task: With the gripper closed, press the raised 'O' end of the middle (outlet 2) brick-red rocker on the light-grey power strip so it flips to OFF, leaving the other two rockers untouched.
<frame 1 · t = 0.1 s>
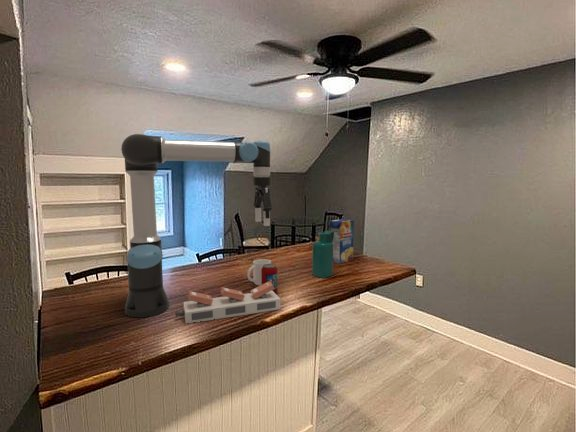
hand: (262, 223, 148), 28 cm above the countertop, fingers open, 13 cm apart
rocker 1: (200, 297, 115), point 7 cm above the countertop, hinge at 20.0°
rocker 2: (232, 293, 119), point 7 cm above the countertop, hinge at 20.0°
green bottle: (323, 275, 163), on the countertop
beverage can: (269, 293, 139), on the countertop
mug: (258, 284, 150), on the countertop
juice carton: (341, 261, 191), on the countertop
power strip: (232, 310, 120), on the countertop
rocker 3: (262, 289, 123), point 7 cm above the countertop, hinge at -20.0°
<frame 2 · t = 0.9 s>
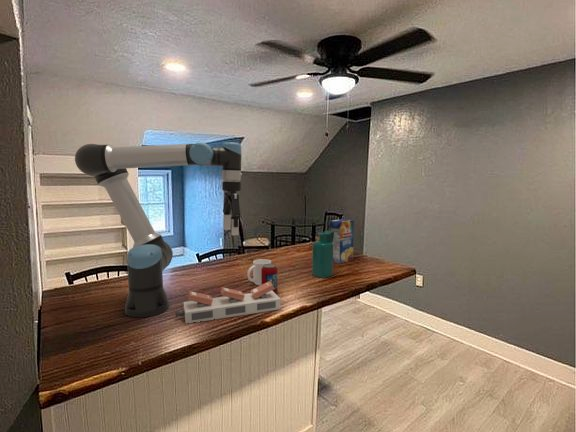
hand: (230, 232, 135), 26 cm above the countertop, fingers open, 13 cm apart
nothing on the countertop moved.
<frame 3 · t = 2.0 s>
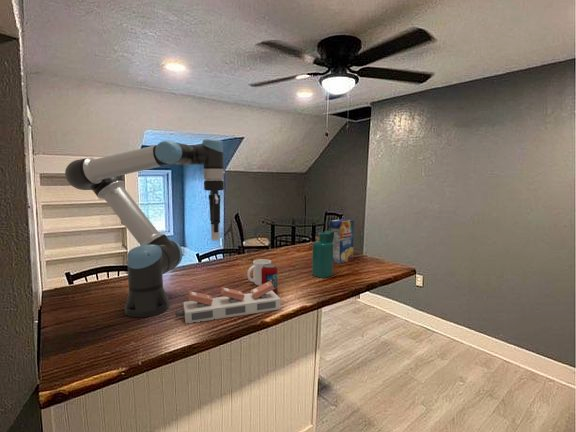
hand: (215, 239, 129), 24 cm above the countertop, fingers closed
nothing on the countertop moved.
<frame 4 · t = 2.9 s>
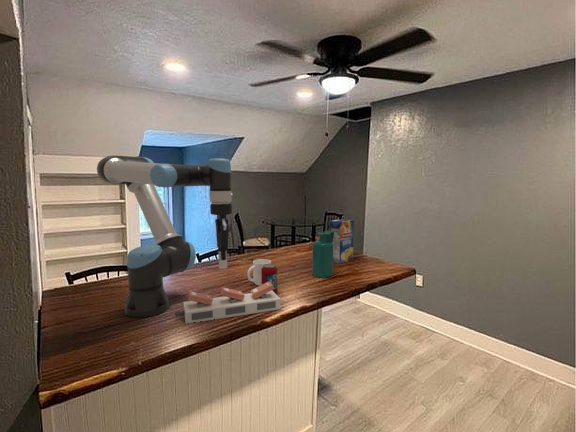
hand: (223, 268, 117), 17 cm above the countertop, fingers closed
nothing on the countertop moved.
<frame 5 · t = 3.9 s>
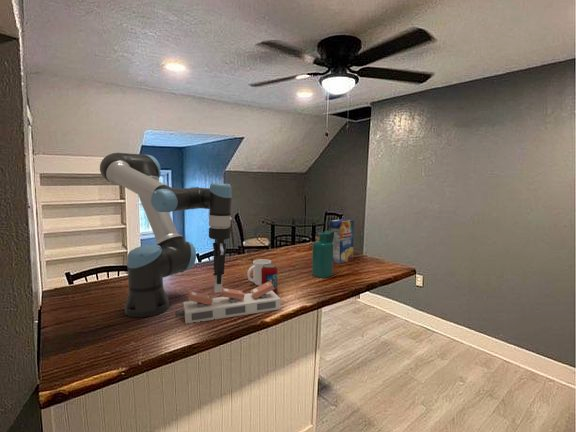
hand: (218, 291, 117), 8 cm above the countertop, fingers closed
rocker 2: (232, 293, 119), point 7 cm above the countertop, hinge at 15.6°, touching gripper
everything else where it was.
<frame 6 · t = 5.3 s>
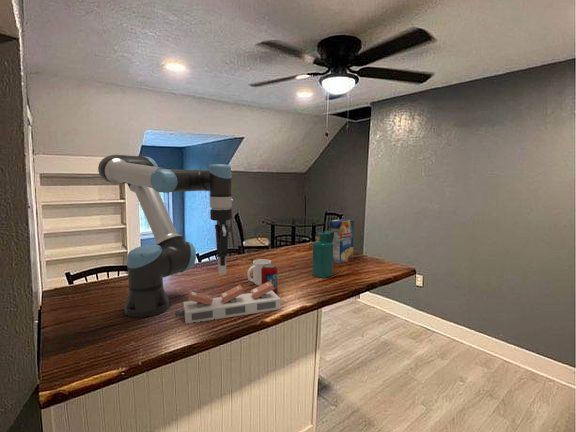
hand: (222, 273, 117), 15 cm above the countertop, fingers closed
rocker 2: (232, 293, 119), point 7 cm above the countertop, hinge at -21.3°
everything else where it was.
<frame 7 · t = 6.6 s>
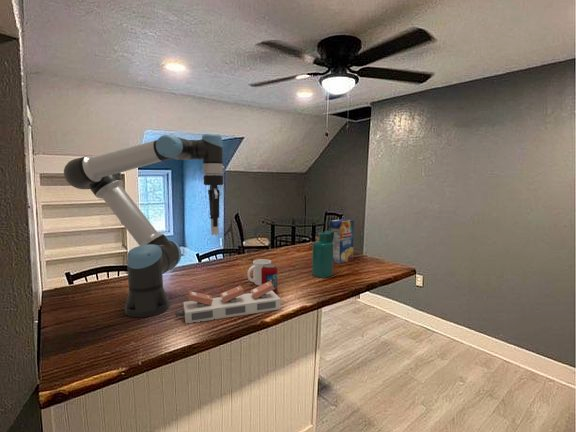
hand: (215, 234, 129), 26 cm above the countertop, fingers closed
rocker 2: (232, 293, 119), point 7 cm above the countertop, hinge at -16.3°
everything else where it was.
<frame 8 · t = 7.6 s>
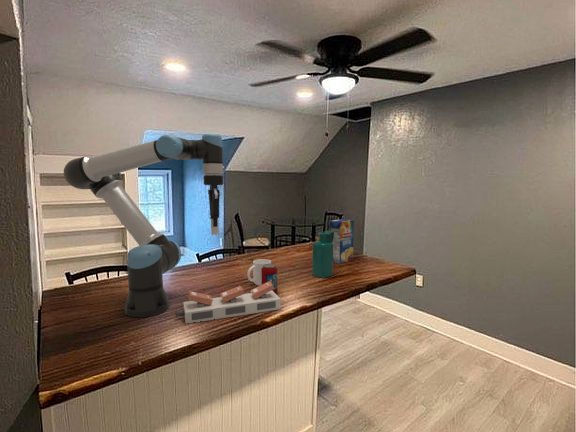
hand: (215, 234, 129), 26 cm above the countertop, fingers closed
rocker 2: (232, 293, 119), point 7 cm above the countertop, hinge at -14.8°
everything else where it was.
at the end: rocker 2 at -15° (first picture: +20°); rocker 1 at +20° (first picture: +20°); rocker 3 at -20° (first picture: -20°) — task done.
